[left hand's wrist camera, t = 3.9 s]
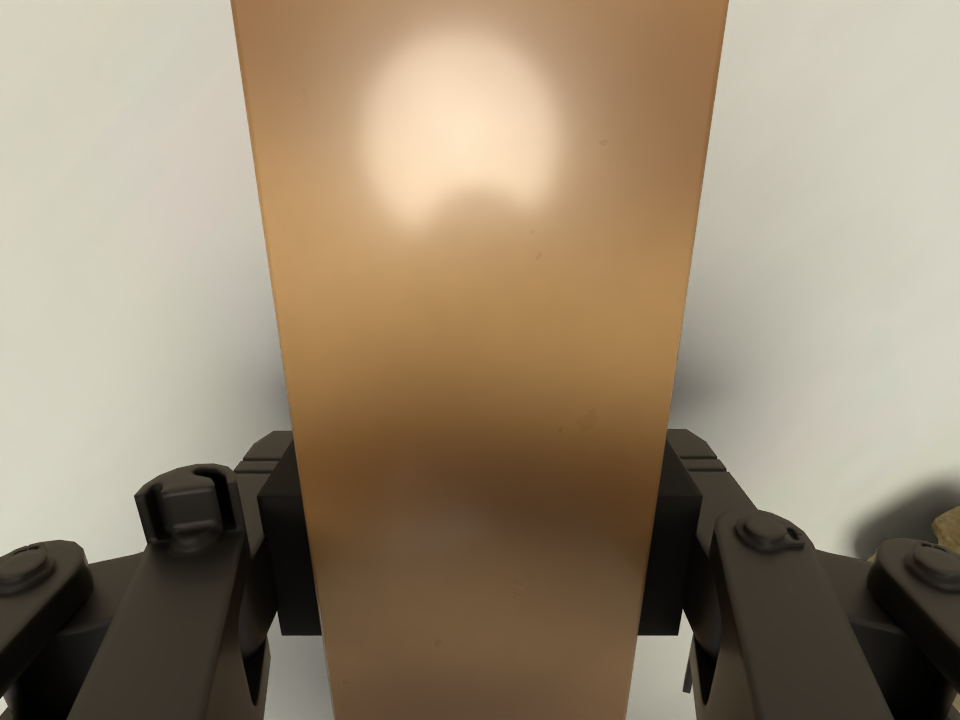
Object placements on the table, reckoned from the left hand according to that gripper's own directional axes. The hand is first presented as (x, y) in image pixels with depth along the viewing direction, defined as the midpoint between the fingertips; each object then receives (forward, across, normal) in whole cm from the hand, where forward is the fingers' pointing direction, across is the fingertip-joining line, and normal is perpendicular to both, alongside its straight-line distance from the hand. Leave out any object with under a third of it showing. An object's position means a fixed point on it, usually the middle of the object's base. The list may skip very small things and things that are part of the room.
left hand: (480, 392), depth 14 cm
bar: (0, 0, -34) cm, 34 cm away
